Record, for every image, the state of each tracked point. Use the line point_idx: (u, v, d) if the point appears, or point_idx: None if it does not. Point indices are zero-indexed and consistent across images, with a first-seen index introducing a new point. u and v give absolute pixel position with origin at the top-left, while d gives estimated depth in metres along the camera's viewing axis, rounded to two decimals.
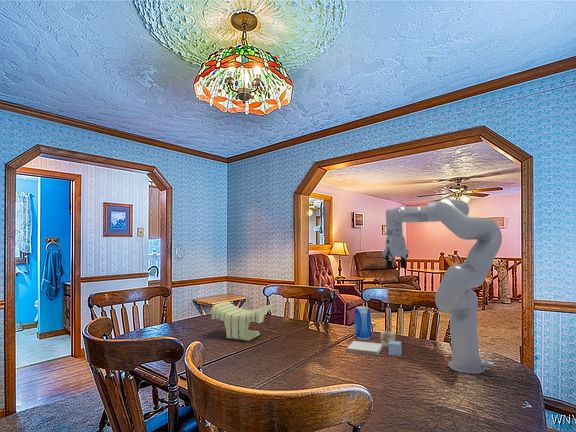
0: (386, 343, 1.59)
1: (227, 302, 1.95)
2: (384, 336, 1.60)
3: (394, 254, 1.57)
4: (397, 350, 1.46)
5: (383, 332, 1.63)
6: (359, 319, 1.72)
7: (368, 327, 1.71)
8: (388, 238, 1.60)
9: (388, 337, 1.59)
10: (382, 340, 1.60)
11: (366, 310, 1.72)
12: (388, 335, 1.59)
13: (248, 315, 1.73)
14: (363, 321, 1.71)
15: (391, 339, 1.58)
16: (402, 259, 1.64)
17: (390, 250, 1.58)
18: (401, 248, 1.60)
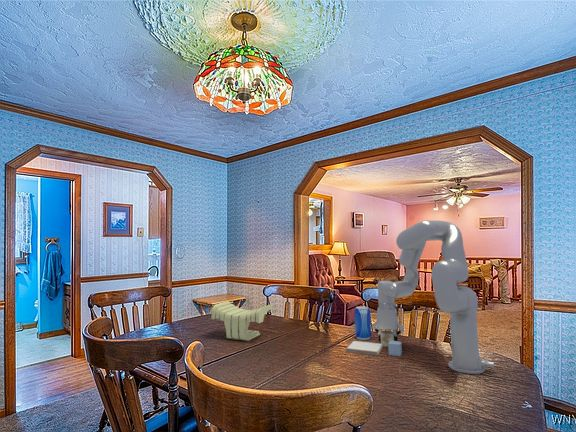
0: (386, 342, 1.59)
1: (227, 302, 1.95)
2: (384, 336, 1.60)
3: None
4: (397, 350, 1.46)
5: (383, 332, 1.63)
6: (359, 319, 1.72)
7: (368, 327, 1.71)
8: (396, 311, 1.61)
9: (388, 337, 1.59)
10: (382, 339, 1.60)
11: (366, 310, 1.72)
12: (388, 335, 1.59)
13: (248, 315, 1.73)
14: (363, 321, 1.71)
15: (391, 339, 1.58)
16: None
17: None
18: None
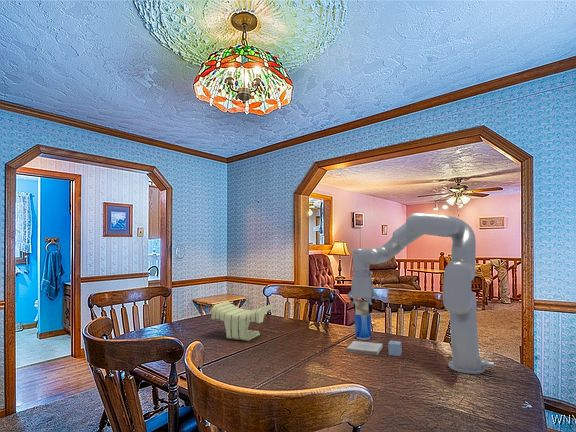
0: (361, 311, 1.55)
1: (227, 302, 1.95)
2: (359, 304, 1.56)
3: None
4: (397, 350, 1.46)
5: (358, 301, 1.58)
6: (359, 319, 1.72)
7: (368, 327, 1.71)
8: (371, 279, 1.57)
9: (363, 305, 1.55)
10: (357, 308, 1.56)
11: None
12: (363, 303, 1.55)
13: (248, 315, 1.73)
14: (363, 321, 1.71)
15: (365, 307, 1.54)
16: None
17: None
18: None
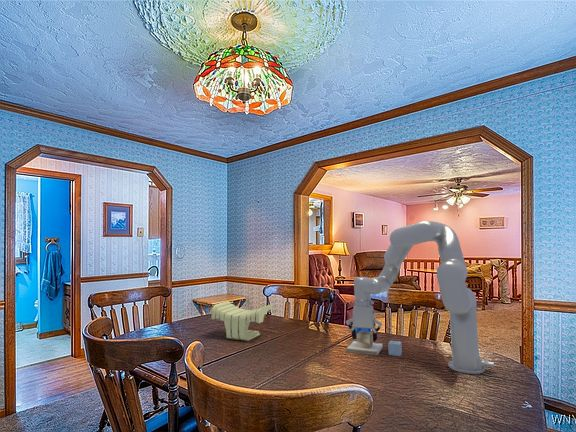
0: (362, 343, 1.53)
1: (227, 302, 1.95)
2: (360, 337, 1.54)
3: None
4: (396, 350, 1.46)
5: (360, 332, 1.57)
6: None
7: None
8: (372, 308, 1.56)
9: (365, 337, 1.53)
10: (358, 340, 1.54)
11: None
12: (364, 336, 1.53)
13: (248, 315, 1.73)
14: None
15: (367, 340, 1.53)
16: (354, 330, 1.58)
17: None
18: None
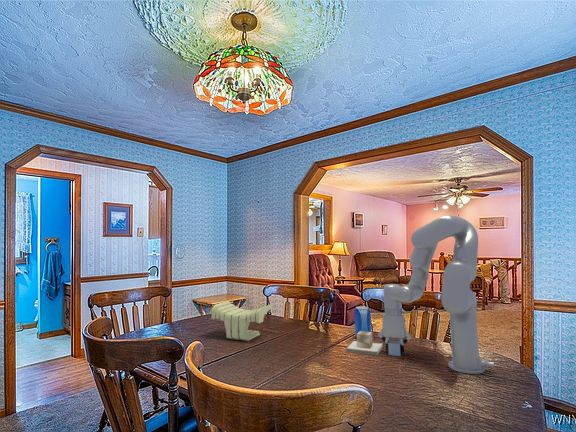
0: (362, 343, 1.53)
1: (227, 302, 1.95)
2: (360, 337, 1.54)
3: None
4: (396, 350, 1.46)
5: (360, 332, 1.57)
6: (359, 319, 1.72)
7: (368, 327, 1.71)
8: None
9: (365, 337, 1.53)
10: (358, 340, 1.54)
11: (366, 310, 1.72)
12: (364, 336, 1.53)
13: (248, 315, 1.73)
14: (363, 321, 1.71)
15: (367, 340, 1.53)
16: (388, 341, 1.50)
17: None
18: None
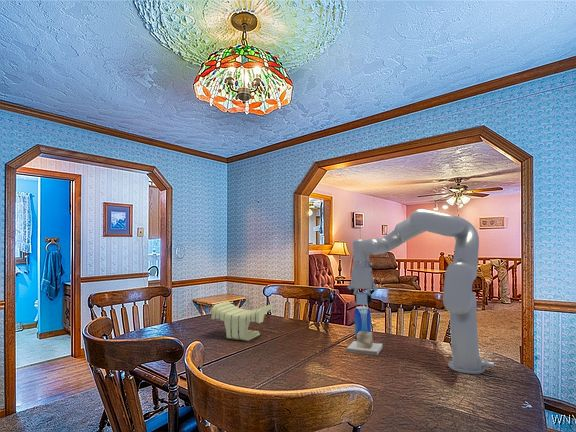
0: (362, 343, 1.53)
1: (227, 302, 1.95)
2: (360, 337, 1.54)
3: None
4: (364, 300, 1.55)
5: (360, 332, 1.57)
6: (359, 319, 1.72)
7: (368, 327, 1.71)
8: (371, 269, 1.57)
9: (365, 337, 1.53)
10: (358, 340, 1.54)
11: (366, 310, 1.72)
12: (364, 336, 1.53)
13: (248, 315, 1.73)
14: (363, 321, 1.71)
15: (367, 340, 1.53)
16: None
17: None
18: None
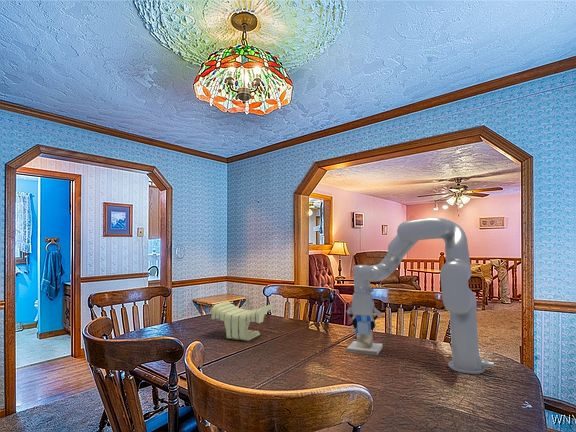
0: (362, 343, 1.53)
1: (227, 302, 1.95)
2: (360, 337, 1.54)
3: None
4: (365, 330, 1.54)
5: None
6: (359, 319, 1.72)
7: None
8: (372, 296, 1.56)
9: (365, 337, 1.53)
10: (358, 340, 1.54)
11: None
12: (364, 336, 1.53)
13: (248, 315, 1.73)
14: None
15: (367, 340, 1.53)
16: (355, 318, 1.59)
17: (374, 309, 1.57)
18: None
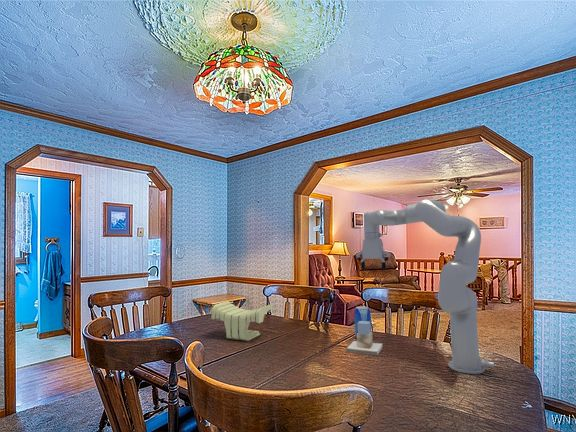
0: (362, 343, 1.53)
1: (227, 302, 1.95)
2: (360, 337, 1.54)
3: None
4: (365, 330, 1.54)
5: None
6: (359, 319, 1.72)
7: None
8: (381, 240, 1.65)
9: (365, 337, 1.53)
10: (358, 340, 1.54)
11: (366, 310, 1.72)
12: (364, 336, 1.53)
13: (248, 315, 1.73)
14: None
15: (367, 340, 1.53)
16: (364, 262, 1.68)
17: None
18: None
